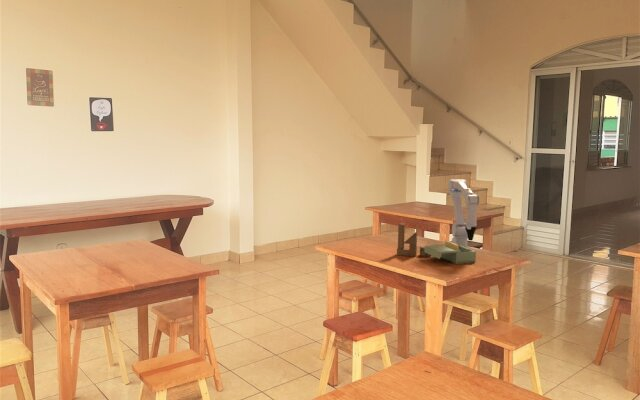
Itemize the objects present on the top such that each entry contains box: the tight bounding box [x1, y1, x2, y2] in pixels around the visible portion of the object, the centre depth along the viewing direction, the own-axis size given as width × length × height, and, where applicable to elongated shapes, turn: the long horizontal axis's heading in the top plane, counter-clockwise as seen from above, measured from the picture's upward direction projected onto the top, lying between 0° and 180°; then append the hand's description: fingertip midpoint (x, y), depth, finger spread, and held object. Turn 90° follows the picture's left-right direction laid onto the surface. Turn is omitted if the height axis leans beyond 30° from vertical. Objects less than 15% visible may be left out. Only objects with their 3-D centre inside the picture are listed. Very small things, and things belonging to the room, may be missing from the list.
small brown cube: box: [419, 246, 432, 258], centre depth 303 cm, size 4×5×5 cm
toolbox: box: [440, 245, 477, 265], centre depth 295 cm, size 16×12×6 cm
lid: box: [423, 240, 461, 260], centre depth 291 cm, size 16×13×6 cm
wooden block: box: [396, 223, 418, 258], centre depth 303 cm, size 4×11×18 cm, turn 68°
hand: (470, 240), depth 296 cm, fingers closed
